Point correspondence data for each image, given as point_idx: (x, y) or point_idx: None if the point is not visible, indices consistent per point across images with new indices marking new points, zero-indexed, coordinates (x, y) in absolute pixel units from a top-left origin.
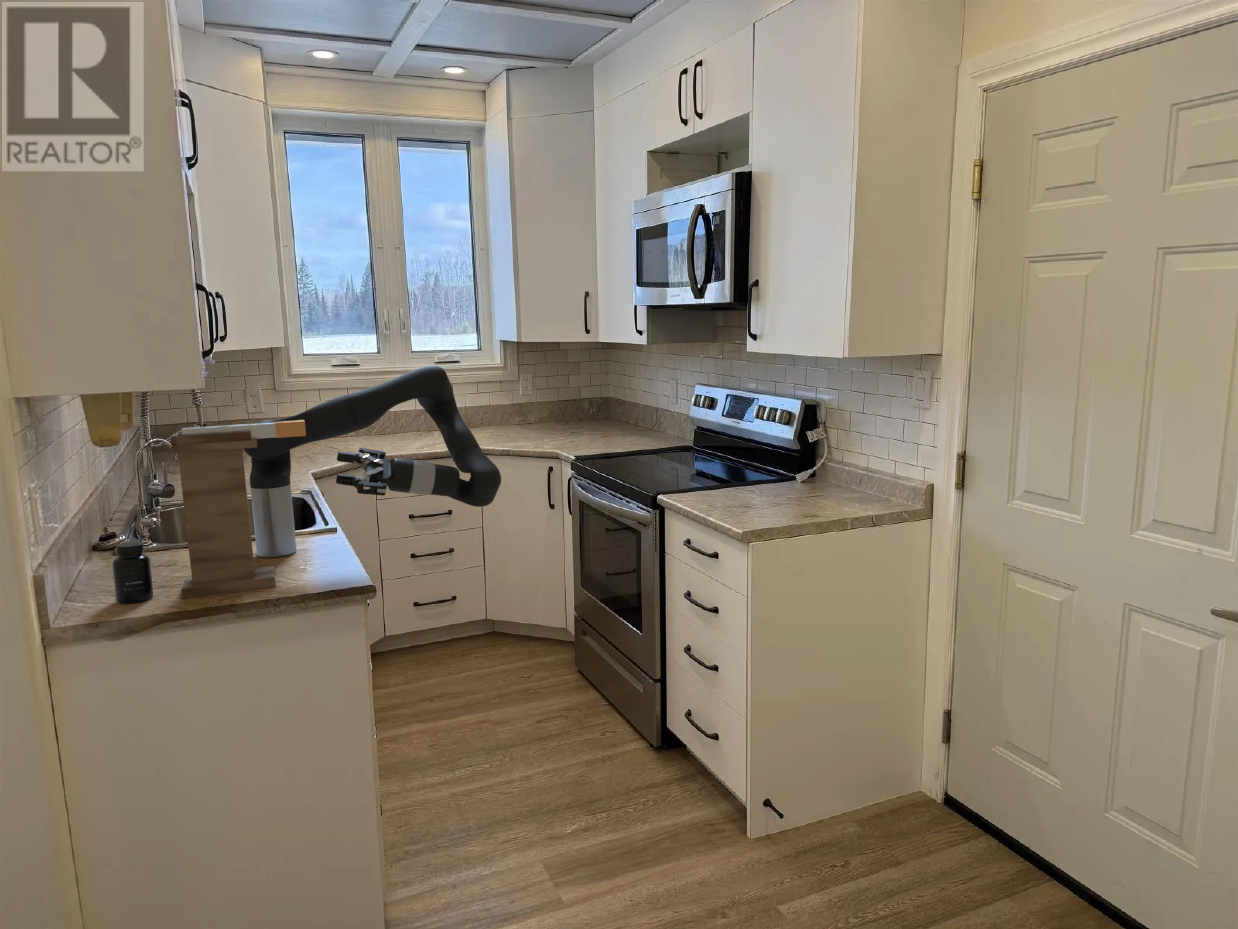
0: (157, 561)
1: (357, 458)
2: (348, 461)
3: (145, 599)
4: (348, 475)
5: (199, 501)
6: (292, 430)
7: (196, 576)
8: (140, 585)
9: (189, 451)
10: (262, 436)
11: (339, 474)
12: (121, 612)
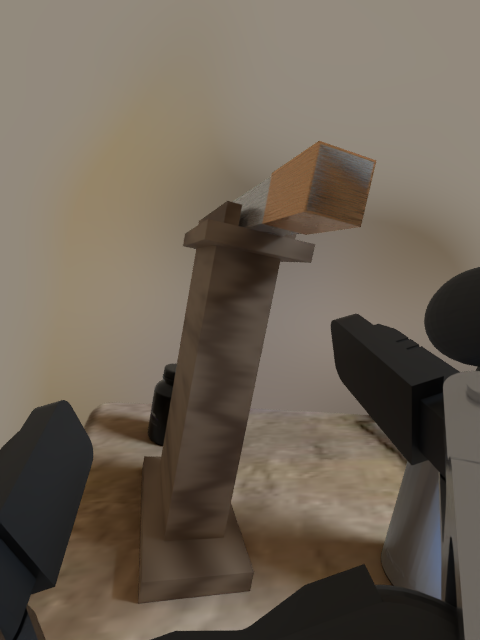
0: (337, 445)
1: (442, 439)
2: (378, 418)
3: (153, 439)
4: (19, 460)
5: (184, 340)
6: (286, 192)
7: (162, 456)
8: (153, 419)
9: (186, 243)
10: (252, 220)
11: (45, 405)
12: (119, 429)
